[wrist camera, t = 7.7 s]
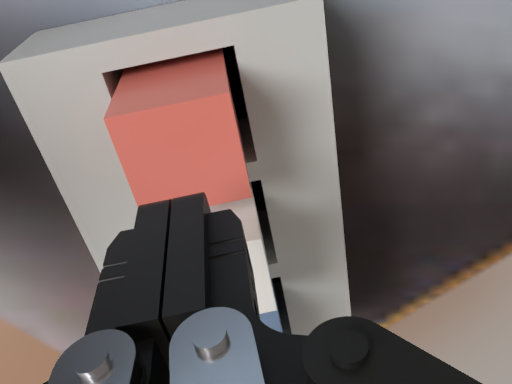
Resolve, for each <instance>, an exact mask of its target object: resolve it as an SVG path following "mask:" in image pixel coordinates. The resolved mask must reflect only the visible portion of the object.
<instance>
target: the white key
mask: <svg viewBox="0 0 512 384" xmlns="http://www.w3.org/2000/svg"><path fill="white" fill-rule="evenodd" d="M250 187H251V193H252V197H251V198H247V199H242V200H237V201H232V202H227V203H223V204H218V205H213V206H209V207H210V210H211V213H212V212H217V211H222V210H227V209H231V210H232V211H233V212H234V213H235V214H236V216H237V217H238V218H239V219H240V220H241V222H242V226H243V230H244V235H245V239H246V243H247V247H248V251H249V255H250V260H251V264H252V268H253V273H254V280H255V288H256V294H257V300H258V301H257V302H258V307H259V314H262V313H267V312H271V311H276V310H277V308H276V302H275V297H274V292H273V287H272V282H271V277H270V272H269V266H268V261H267V256H266V251H265V246H264V241H263V236H262V231H261V226H260V222H259V217H258V212H257V208H256V203H255V198H254V194H253V189H252V185H251V182H250Z"/></svg>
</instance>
